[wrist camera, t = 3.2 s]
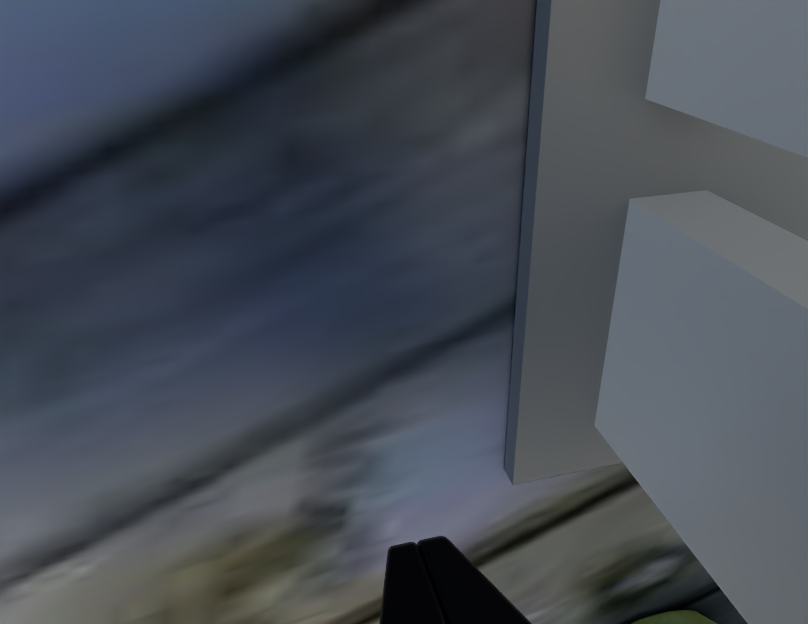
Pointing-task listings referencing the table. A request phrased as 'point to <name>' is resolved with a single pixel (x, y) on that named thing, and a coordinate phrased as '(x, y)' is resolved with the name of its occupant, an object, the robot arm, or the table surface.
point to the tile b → (735, 66)
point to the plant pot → (676, 618)
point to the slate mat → (605, 213)
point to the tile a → (716, 391)
